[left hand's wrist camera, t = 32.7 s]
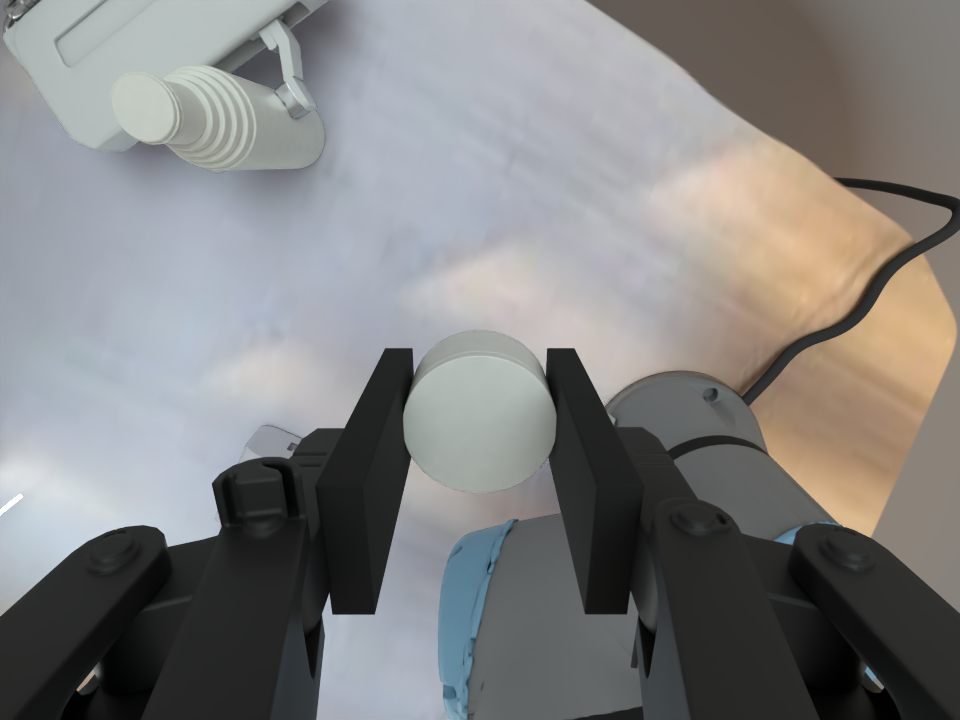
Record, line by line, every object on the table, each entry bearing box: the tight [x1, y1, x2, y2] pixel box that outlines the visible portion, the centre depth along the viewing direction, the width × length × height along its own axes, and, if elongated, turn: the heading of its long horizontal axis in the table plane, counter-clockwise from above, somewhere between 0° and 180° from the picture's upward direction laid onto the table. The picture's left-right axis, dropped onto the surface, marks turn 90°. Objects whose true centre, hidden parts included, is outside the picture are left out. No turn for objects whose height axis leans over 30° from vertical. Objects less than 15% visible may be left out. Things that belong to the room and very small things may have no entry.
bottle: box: [110, 65, 325, 170], centre depth 30 cm, size 5×5×19 cm
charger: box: [215, 426, 302, 527], centre depth 49 cm, size 5×9×15 cm
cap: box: [403, 330, 557, 493], centre depth 14 cm, size 4×4×2 cm
